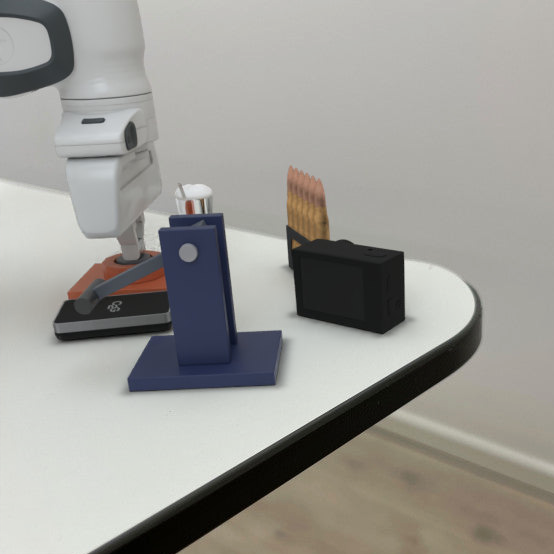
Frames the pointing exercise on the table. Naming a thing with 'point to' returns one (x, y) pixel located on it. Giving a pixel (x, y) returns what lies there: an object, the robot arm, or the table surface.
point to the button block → (112, 269)
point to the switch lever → (118, 281)
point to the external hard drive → (115, 316)
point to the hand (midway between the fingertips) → (134, 256)
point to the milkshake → (194, 199)
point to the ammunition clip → (305, 211)
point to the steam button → (142, 258)
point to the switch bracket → (203, 318)
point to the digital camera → (350, 284)
